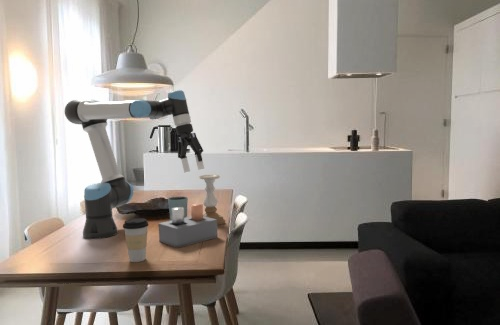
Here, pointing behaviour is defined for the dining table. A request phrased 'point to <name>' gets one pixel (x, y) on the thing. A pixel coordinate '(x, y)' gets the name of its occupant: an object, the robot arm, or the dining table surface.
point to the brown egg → (196, 212)
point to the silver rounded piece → (178, 216)
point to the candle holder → (211, 199)
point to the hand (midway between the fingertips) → (194, 170)
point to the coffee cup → (136, 238)
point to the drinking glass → (177, 204)
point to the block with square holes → (187, 232)
